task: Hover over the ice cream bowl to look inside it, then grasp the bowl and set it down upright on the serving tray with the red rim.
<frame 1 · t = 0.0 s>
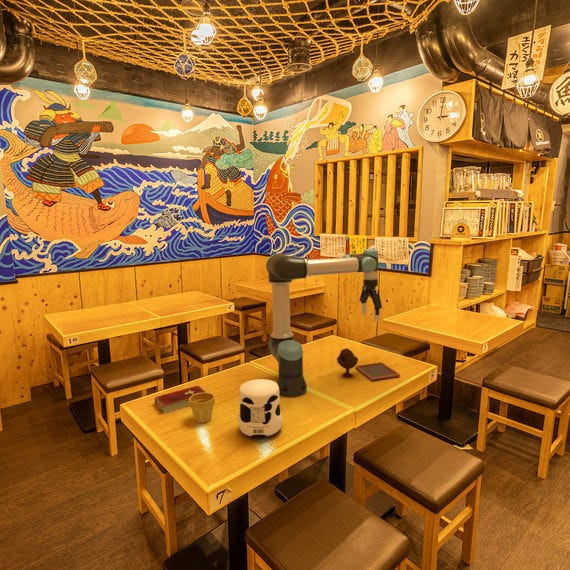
hand: (370, 317, 212), 28 cm above the table, fingers open, 13 cm apart
plant pot: (203, 419, 166), on the table
serving tray: (376, 373, 209), on the table
hardcover book: (182, 403, 181), on the table
milk container: (260, 430, 156), on the table
ice cream bowl: (347, 376, 206), on the table
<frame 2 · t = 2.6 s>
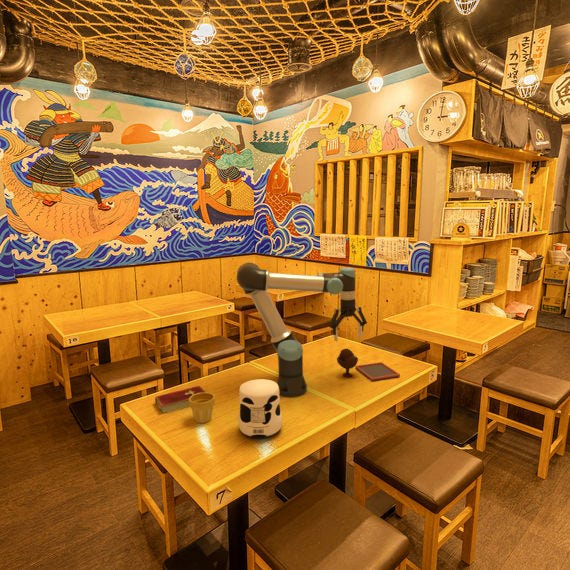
hand: (348, 339, 203), 20 cm above the table, fingers open, 13 cm apart
nothing on the table moved.
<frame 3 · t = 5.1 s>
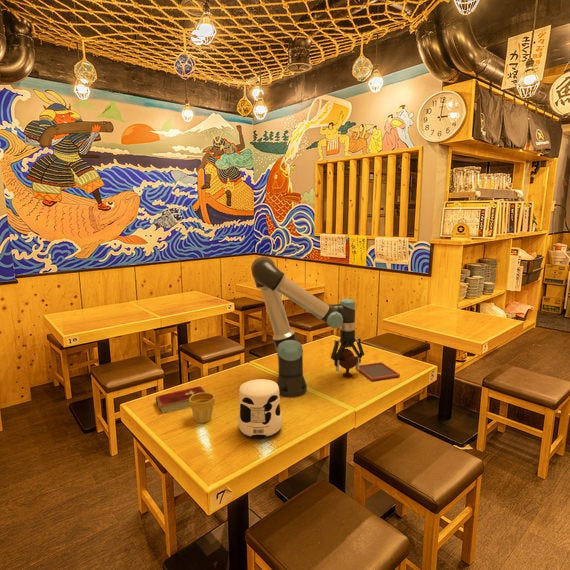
hand: (347, 370, 206), 3 cm above the table, fingers closed on ice cream bowl, 11 cm apart
ice cream bowl: (347, 376, 206), on the table, touching gripper
everything else where it was.
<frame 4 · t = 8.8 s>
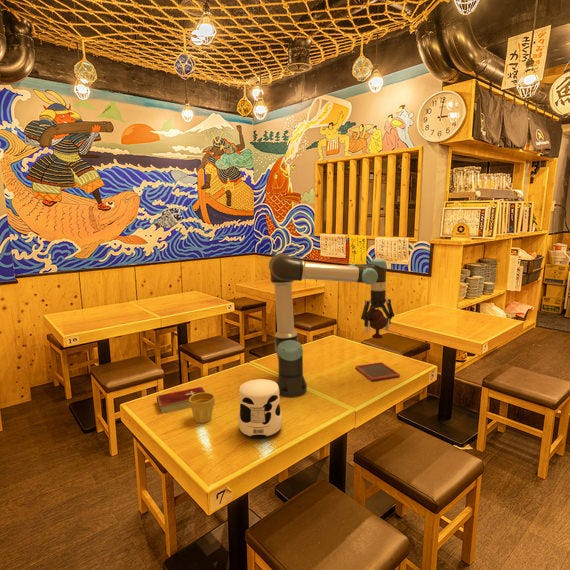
hand: (377, 331, 205), 23 cm above the table, fingers closed on ice cream bowl, 11 cm apart
ice cream bowl: (377, 337, 205), point 20 cm above the table, touching gripper
when the fingers open (6 cm above the table, at t = 12.5 s): ice cream bowl drops 2 cm, resting on serving tray.
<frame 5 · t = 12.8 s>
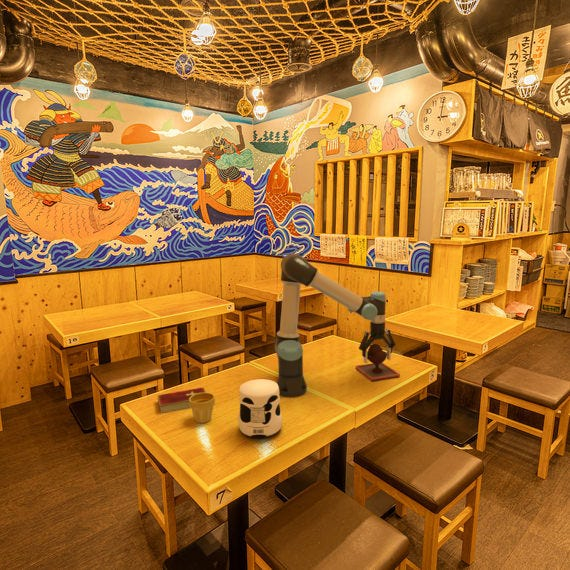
hand: (377, 360, 208), 7 cm above the table, fingers open, 13 cm apart
ice cream bowl: (377, 371, 209), point 1 cm above the table, touching serving tray
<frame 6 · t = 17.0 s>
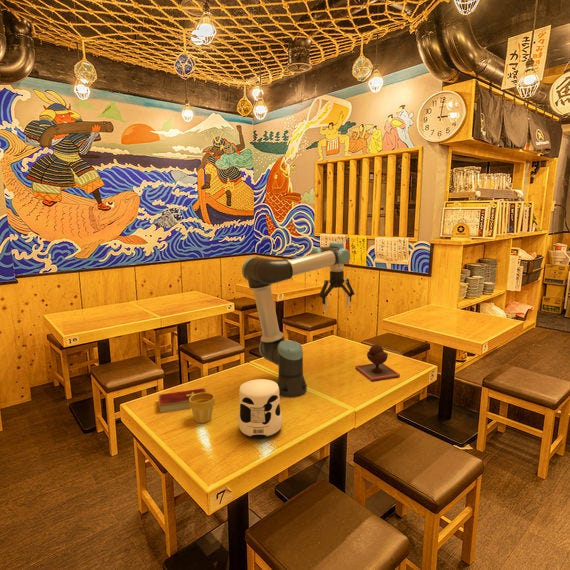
hand: (336, 308, 218), 32 cm above the table, fingers open, 13 cm apart
at the end: ice cream bowl inside the target area on the serving tray (0.2 cm from its centre), point 0.8 cm above the serving tray's base; ice cream bowl tilted 0°; the gripper is holding nothing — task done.
